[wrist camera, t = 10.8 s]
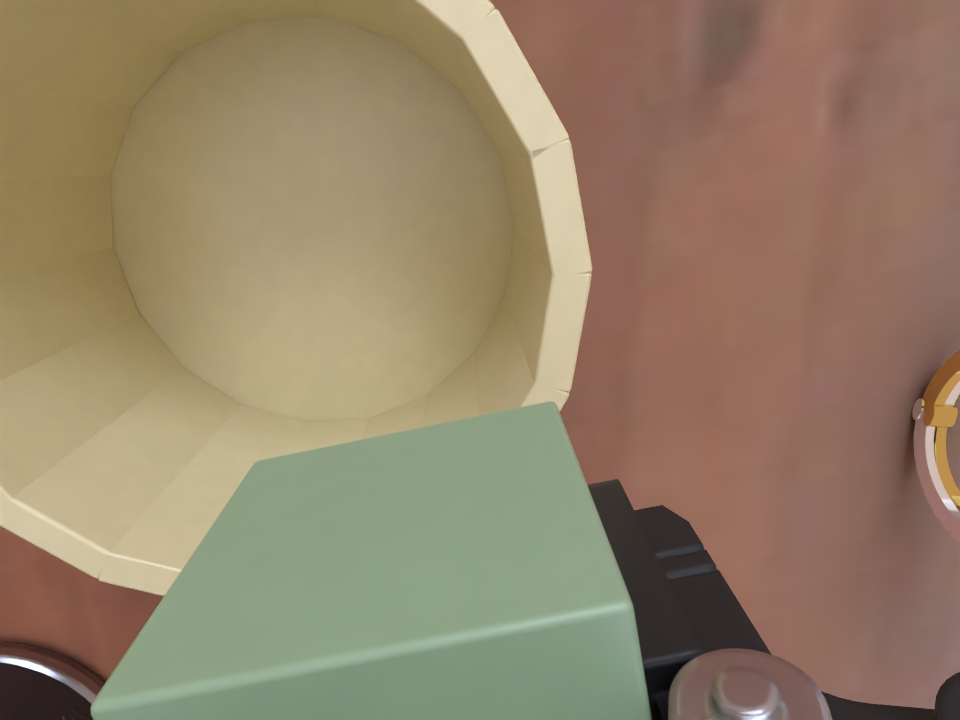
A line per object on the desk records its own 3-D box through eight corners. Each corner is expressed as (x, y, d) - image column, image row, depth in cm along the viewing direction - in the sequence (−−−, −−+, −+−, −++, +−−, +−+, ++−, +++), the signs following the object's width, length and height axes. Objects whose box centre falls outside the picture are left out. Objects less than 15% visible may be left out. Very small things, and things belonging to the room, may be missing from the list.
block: (336, 697, 11) (254, 1053, 7) (253, 459, 9) (81, 710, 5) (601, 647, 11) (695, 978, 6) (554, 397, 9) (635, 602, 5)
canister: (187, 473, 24) (22, 665, 15) (18, 50, 20) (-360, -42, 11) (569, 389, 23) (638, 536, 14) (482, -64, 19) (503, -264, 10)
